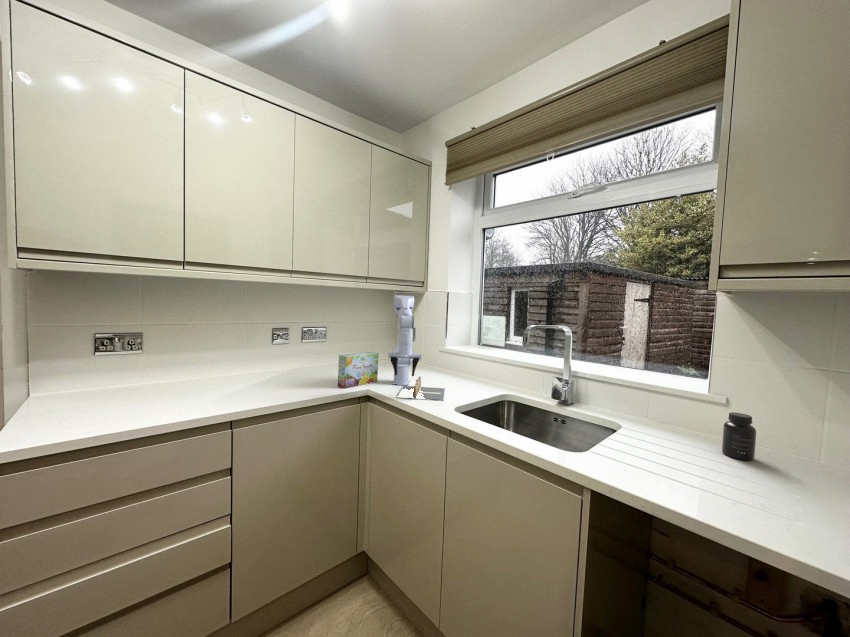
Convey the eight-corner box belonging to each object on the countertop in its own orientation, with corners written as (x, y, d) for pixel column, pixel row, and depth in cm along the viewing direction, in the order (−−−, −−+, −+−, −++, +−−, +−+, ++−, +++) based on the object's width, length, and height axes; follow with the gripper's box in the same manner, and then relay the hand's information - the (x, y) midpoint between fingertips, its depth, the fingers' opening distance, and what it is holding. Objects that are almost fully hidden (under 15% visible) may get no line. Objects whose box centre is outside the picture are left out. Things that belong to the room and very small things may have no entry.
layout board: (403, 386, 163) (403, 374, 163) (444, 389, 161) (445, 376, 161) (395, 397, 143) (396, 383, 143) (443, 400, 141) (443, 386, 141)
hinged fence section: (415, 391, 151) (416, 381, 151) (418, 391, 151) (418, 381, 151) (413, 397, 142) (413, 386, 141) (416, 397, 141) (416, 387, 141)
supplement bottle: (718, 449, 101) (721, 409, 100) (749, 455, 97) (752, 413, 97) (724, 457, 95) (728, 415, 94) (758, 464, 91) (761, 420, 91)
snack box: (345, 389, 155) (345, 356, 154) (337, 387, 158) (338, 354, 157) (378, 381, 171) (379, 352, 171) (370, 380, 175) (371, 351, 174)
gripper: (386, 343, 140) (385, 376, 141) (421, 345, 139) (420, 378, 140) (390, 342, 147) (389, 372, 148) (423, 343, 146) (422, 374, 147)
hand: (404, 375), depth 144 cm, fingers open, 7 cm apart
